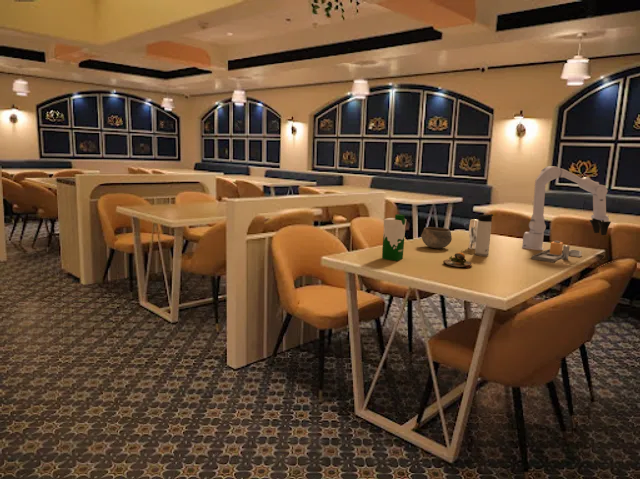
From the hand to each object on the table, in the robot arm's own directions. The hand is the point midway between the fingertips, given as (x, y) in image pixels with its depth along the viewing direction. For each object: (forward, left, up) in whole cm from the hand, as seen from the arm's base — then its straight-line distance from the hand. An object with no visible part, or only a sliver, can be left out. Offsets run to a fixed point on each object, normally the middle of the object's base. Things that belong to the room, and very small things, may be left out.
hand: (600, 233), depth 257 cm
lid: (-14, -40, -10) cm, 44 cm away
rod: (-7, -36, -10) cm, 38 cm away
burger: (-36, -90, -11) cm, 97 cm away
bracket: (-6, -21, -10) cm, 24 cm away
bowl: (-63, -58, -11) cm, 86 cm away
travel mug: (-39, -57, -11) cm, 69 cm away
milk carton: (-62, -101, -11) cm, 118 cm away
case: (-14, -26, -10) cm, 31 cm away
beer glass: (-49, -43, -11) cm, 65 cm away
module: (-14, -26, -10) cm, 31 cm away
